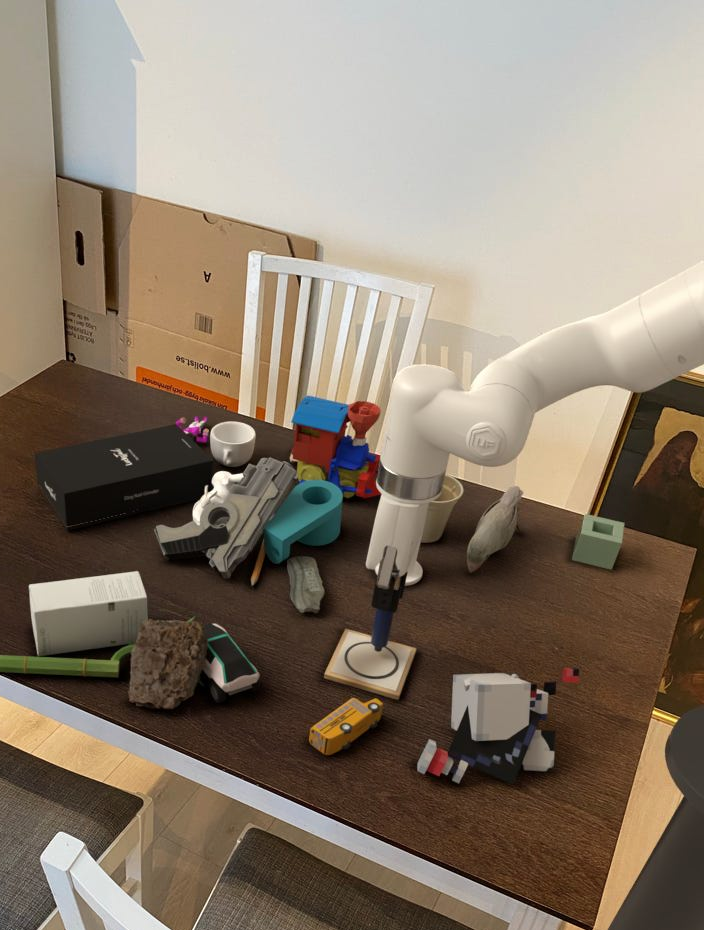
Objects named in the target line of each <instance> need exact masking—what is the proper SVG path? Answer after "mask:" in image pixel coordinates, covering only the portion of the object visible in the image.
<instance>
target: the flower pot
mask: <svg viewBox="0 0 704 930" xmlns="http://www.w3.org/2000/svg"><path fill="white" fill-rule="evenodd" d="M463 494H464V486H463V484H462V483H461V482H460V480H458V479H457V478H455V477H453V476H452V475H450V474H448V473H446V474H445V478H444V483H443V487H442V492H441V495H440V496H439V497H438V498H437V499H435V500H434V501H432V502H429V506H428V510H427V515H426V519H425V524H424V528H423V533H422V537H421V542H420V543H422V544H423V543H425V544H427V543H434V542H437V541H438V540H439V539H441V537H442V536H443V533H444V531H445V528H446V526H447V523H448V521H449V518H450V516H451V513H452V511H453V509H454V507H455V505H456V504H457V503H458V502H459V500H460V499H461V498H462V496H463Z"/></svg>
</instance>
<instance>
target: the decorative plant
mask: <svg viewBox="0 0 704 930" xmlns="http://www.w3.org/2000/svg"><path fill="white" fill-rule="evenodd" d="M196 617H197V616H196V615H194V616H193V617H191V618H190V619H188V620H187V621H186V622H191V621H194V619H195V618H196ZM134 644H135V642H131V643H130V644H127V645H125V646H122V647H121V648H120V649H119V650H117V651H115V653H113V655H112V656H111V658H110V659H93V658H90V659H88V658H71V657H69V658H68V657H52V656H51V657H50V656H49V657H47V656H28V655H7V654H0V673H17V674H25V675H27V674H35V675H36V674H38V675H57V676H58V675H59V676H78V677H79V676H80V677H84V678H85V677H97V678H98V677H100V678H101V677H102V678H119V677H120V663H121V662H122V661H123V659H125V658H127V657H128V656H131V651H132V648H133V647H134ZM197 684H200V685H201V686H203V687H205V684H204V683H203V682H202V680H201V678H200V679H199V680H198V682H197Z"/></svg>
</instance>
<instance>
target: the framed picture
mask: <svg viewBox="0 0 704 930" xmlns="http://www.w3.org/2000/svg"><path fill="white" fill-rule="evenodd" d="M371 638H372V635H370V634H367V633H363V632H359V631H356V630H353V629H349V628H344V630H343V632H342V635H341V637H340V639H339V641H338V643H337V645H336V648H335V650H334V652H333V654H332V656H331V659H330V661H329V663H328V665H327V667H326V669H325V672H324V673H323V679H325V680H329V681H332V682H335V683H339V684H343V685H346V686H348V687H353V688H356V689H359V690H363V691H366V692H369V693H372V694H375V695H379V696H383V697H386V698H389V699H393V700H397V701H399V700H400V697H401V694H402V691H403V688H404V686H405V684H406V680H407V677H408V675H409V672H410V669H411V667H412V664H413V661H414V659H415V655H416V653H417V647H413V646H409V645H405V644H402V643H398V642H395V641H392V640H388V644H387V646H386V647H383V648H382V651H380V652H377V651H375V650H374V647H375V646H373V645H372V643H371Z"/></svg>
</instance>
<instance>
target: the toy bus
mask: <svg viewBox="0 0 704 930" xmlns="http://www.w3.org/2000/svg"><path fill="white" fill-rule="evenodd" d="M383 708H384V703H383V702H382V701H381V700H380V699H379V698H377V697H375V698H373V699H371V700H368V701H366V702H363V701H360V700H359V699H357V698H355V697H352V698H350V699H349V700H348V701H346V702H345V703H343V704H342V705H340V706H339V707H338V708H336V709H335V710H333V711H332V712H331V713H329V714H328V715H327V716H325V717H324V718H322V719H321V720H320V721H318V722H317V723H316V724H314V725H313V726H312V727H310V729H309V737H308V741H309V743H310V745H311V746H312V747H313V748H315V749H316V750H317V751H319V752H320V753H321V754H323V755H325V756H330V755H331V756H332V755H333V754H335V753H338V752H339V751H341V750H347V749H349V748H350V747H351V743H352V742H353V741H354V740H356V739H357V738H358V737H360V736H362V735H363V734H364V733H365V732H367V731H368V730H369V729H375V728H376V727H377V726H378V722H379V721H381V717H382V712H383Z"/></svg>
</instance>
